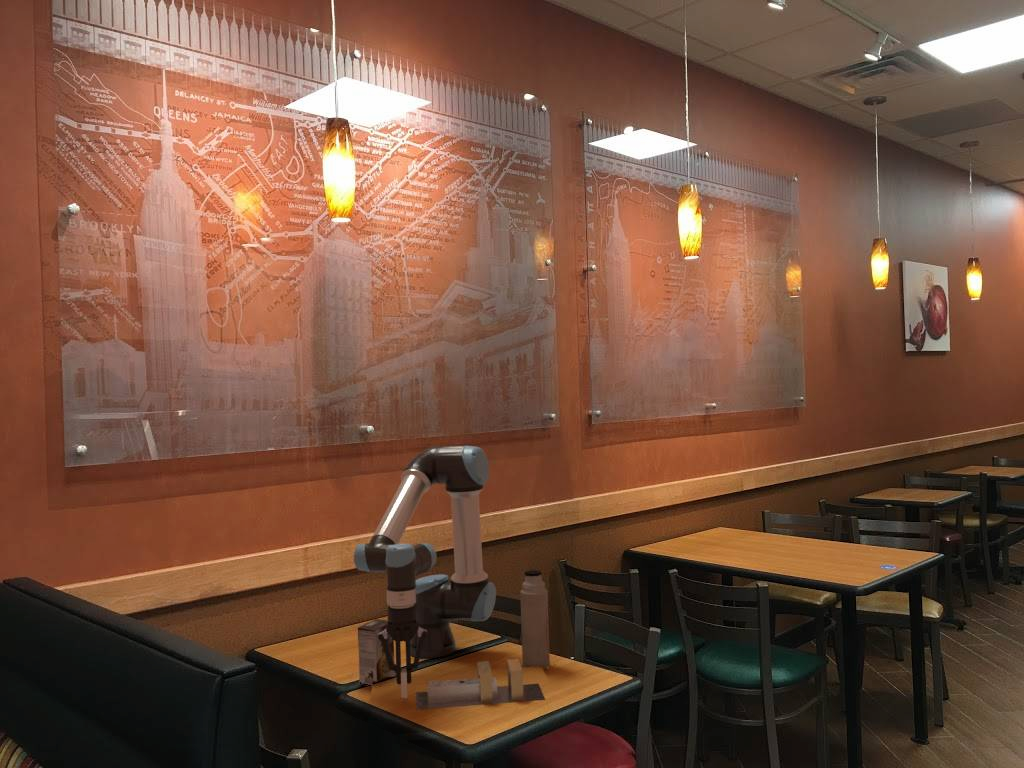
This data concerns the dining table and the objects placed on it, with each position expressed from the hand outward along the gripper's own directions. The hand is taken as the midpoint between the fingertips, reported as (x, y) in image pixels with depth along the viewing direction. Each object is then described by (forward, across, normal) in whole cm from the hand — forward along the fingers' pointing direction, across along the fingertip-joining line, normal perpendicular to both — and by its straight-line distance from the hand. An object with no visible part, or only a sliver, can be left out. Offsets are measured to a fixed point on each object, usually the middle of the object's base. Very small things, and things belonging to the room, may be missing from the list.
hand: (404, 695), depth 216 cm
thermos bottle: (+3, +38, +24) cm, 45 cm away
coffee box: (+3, -8, +22) cm, 24 cm away
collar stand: (+3, +19, 0) cm, 20 cm away
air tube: (+2, +15, 0) cm, 15 cm away
